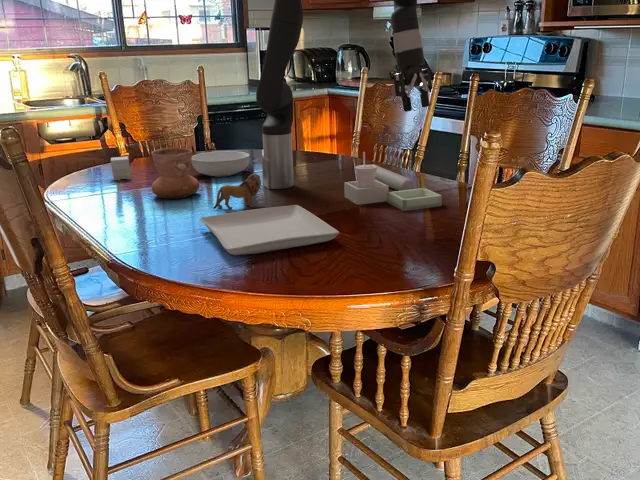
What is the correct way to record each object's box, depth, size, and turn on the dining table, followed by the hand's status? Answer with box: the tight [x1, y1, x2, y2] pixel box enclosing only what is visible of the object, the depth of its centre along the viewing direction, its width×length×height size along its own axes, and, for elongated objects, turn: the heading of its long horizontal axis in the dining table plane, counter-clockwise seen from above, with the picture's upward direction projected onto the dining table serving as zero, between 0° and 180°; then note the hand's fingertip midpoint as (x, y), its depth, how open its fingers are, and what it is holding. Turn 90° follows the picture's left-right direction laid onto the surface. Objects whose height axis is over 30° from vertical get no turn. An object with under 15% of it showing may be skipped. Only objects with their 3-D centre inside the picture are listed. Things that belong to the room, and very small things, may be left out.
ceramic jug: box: [151, 147, 200, 200], centre depth 183 cm, size 18×14×14 cm
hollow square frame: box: [344, 180, 390, 206], centre depth 174 cm, size 10×10×4 cm
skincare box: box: [110, 155, 132, 181], centre depth 210 cm, size 6×6×7 cm
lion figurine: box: [212, 173, 262, 210], centre depth 169 cm, size 15×5×9 cm, turn 116°
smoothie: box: [354, 151, 378, 189], centre depth 173 cm, size 6×6×14 cm
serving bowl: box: [191, 150, 251, 178], centre depth 212 cm, size 21×21×7 cm
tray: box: [386, 187, 443, 212], centre depth 168 cm, size 12×10×3 cm
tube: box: [369, 163, 415, 191], centre depth 189 cm, size 5×5×25 cm
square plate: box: [199, 204, 340, 256], centre depth 144 cm, size 27×27×4 cm
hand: (417, 109), depth 165 cm, fingers open, 8 cm apart
